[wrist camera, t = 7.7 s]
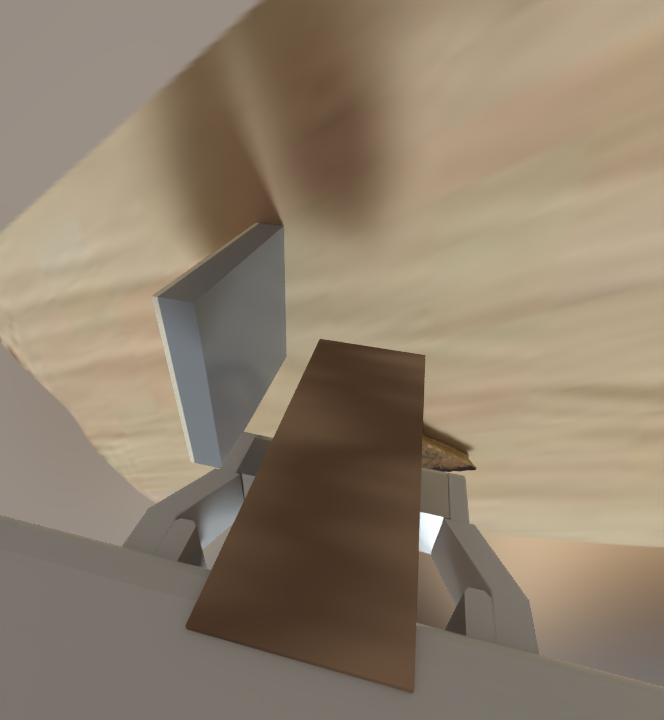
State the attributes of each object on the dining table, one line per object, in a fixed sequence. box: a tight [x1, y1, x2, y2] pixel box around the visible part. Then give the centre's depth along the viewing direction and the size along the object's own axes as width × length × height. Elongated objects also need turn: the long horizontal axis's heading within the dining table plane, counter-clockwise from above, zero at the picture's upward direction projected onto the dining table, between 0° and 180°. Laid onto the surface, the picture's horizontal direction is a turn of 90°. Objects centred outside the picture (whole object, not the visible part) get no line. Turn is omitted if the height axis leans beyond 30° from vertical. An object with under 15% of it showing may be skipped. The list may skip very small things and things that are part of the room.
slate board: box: [152, 223, 286, 468], centre depth 18 cm, size 2×8×9 cm, turn 177°
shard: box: [422, 435, 476, 472], centre depth 27 cm, size 11×8×2 cm
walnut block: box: [185, 339, 425, 694], centre depth 12 cm, size 4×4×10 cm
